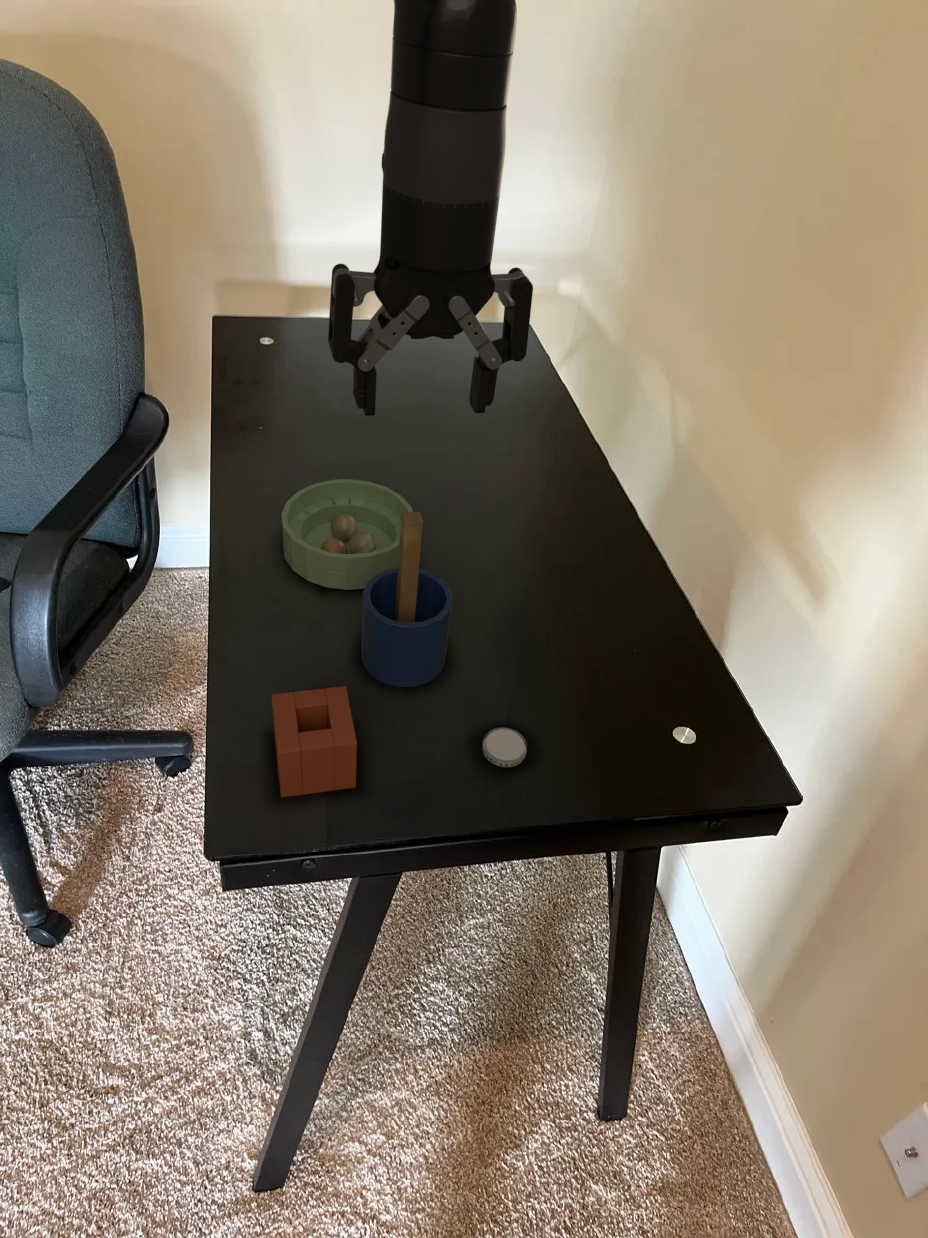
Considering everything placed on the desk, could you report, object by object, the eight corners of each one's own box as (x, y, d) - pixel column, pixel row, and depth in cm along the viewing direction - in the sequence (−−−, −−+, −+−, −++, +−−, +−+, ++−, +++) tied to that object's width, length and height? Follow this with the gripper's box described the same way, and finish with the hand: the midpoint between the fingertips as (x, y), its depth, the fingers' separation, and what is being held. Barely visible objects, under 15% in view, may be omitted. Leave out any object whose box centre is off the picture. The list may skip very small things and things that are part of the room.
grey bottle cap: (534, 759, 74) (535, 755, 73) (494, 772, 72) (495, 767, 72) (513, 726, 76) (514, 722, 76) (474, 738, 75) (475, 734, 74)
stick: (395, 655, 81) (404, 523, 70) (392, 644, 82) (401, 512, 71) (411, 654, 81) (423, 522, 70) (408, 642, 82) (419, 511, 71)
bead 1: (350, 545, 94) (329, 544, 92) (344, 522, 95) (322, 520, 93) (365, 533, 92) (343, 531, 90) (358, 509, 93) (336, 507, 91)
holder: (280, 798, 68) (277, 753, 64) (274, 739, 72) (271, 693, 68) (355, 787, 70) (356, 742, 66) (345, 731, 74) (345, 685, 70)
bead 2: (309, 551, 88) (328, 543, 86) (324, 538, 90) (343, 530, 89) (324, 574, 89) (343, 567, 87) (339, 560, 91) (358, 553, 90)
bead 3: (354, 567, 91) (339, 546, 89) (361, 551, 93) (347, 530, 91) (376, 560, 89) (362, 539, 88) (383, 543, 92) (369, 522, 90)
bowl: (290, 599, 86) (288, 561, 83) (278, 518, 96) (276, 482, 92) (423, 588, 89) (426, 552, 86) (399, 511, 99) (401, 476, 96)
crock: (368, 692, 78) (371, 630, 72) (355, 632, 83) (357, 571, 78) (453, 682, 80) (461, 622, 74) (435, 624, 85) (441, 564, 80)
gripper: (337, 193, 48) (336, 438, 59) (566, 202, 52) (525, 432, 62) (322, 156, 53) (324, 387, 64) (530, 167, 57) (498, 384, 68)
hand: (423, 409), depth 63 cm, fingers open, 8 cm apart
